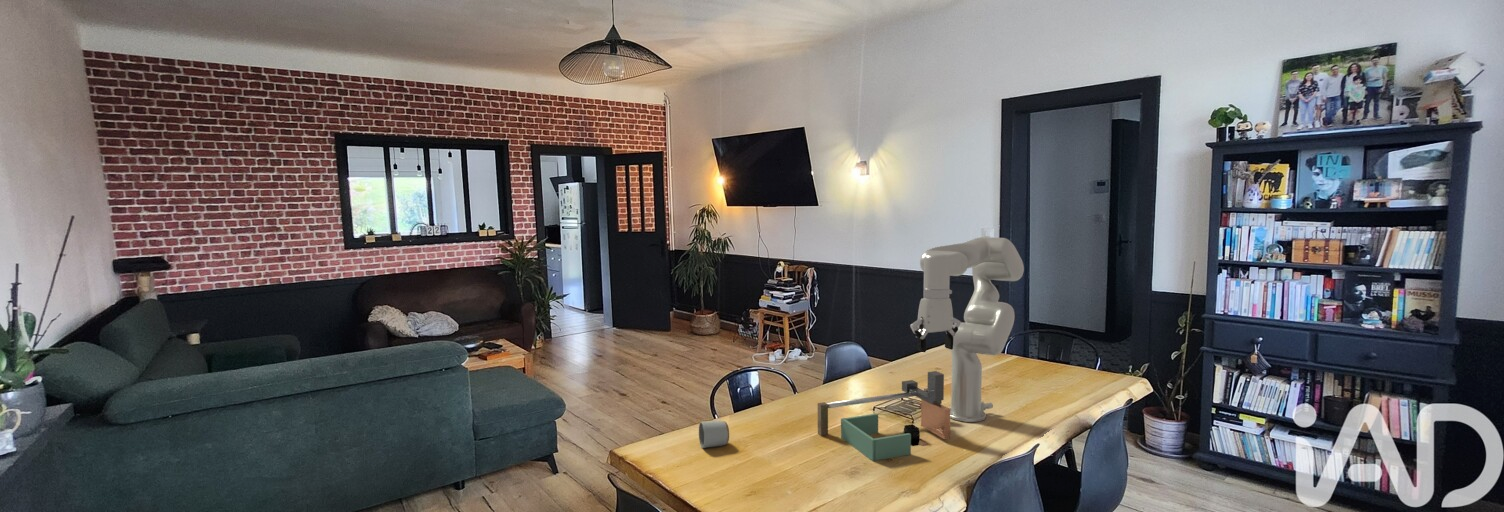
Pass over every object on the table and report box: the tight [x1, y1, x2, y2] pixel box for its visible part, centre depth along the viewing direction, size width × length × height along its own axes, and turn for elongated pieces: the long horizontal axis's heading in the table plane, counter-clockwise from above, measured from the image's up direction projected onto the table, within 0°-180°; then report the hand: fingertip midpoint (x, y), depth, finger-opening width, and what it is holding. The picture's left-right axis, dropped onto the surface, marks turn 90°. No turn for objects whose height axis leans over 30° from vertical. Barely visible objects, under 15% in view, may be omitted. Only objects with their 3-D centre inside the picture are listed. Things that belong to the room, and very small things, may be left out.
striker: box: [901, 370, 951, 440], centre depth 202 cm, size 4×22×18 cm, turn 20°
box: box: [840, 413, 912, 462], centre depth 191 cm, size 12×19×6 cm, turn 19°
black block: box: [903, 424, 928, 447], centre depth 195 cm, size 12×7×5 cm, turn 19°
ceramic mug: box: [698, 420, 730, 449], centre depth 195 cm, size 11×8×8 cm
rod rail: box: [817, 387, 928, 437], centre depth 207 cm, size 41×2×10 cm, turn 109°
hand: (935, 349), depth 195 cm, fingers open, 9 cm apart
